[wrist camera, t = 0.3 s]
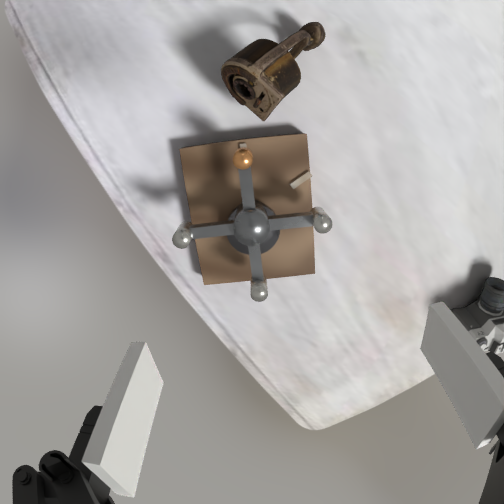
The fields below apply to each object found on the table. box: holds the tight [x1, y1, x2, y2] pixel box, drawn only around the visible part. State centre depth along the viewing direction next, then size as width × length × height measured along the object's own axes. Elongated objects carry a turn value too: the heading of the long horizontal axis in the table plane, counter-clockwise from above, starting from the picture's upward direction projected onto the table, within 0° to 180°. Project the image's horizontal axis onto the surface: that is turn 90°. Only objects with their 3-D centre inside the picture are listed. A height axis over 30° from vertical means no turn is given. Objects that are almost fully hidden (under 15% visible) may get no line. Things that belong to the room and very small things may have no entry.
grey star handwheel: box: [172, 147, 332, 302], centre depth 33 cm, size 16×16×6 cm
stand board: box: [179, 133, 315, 285], centre depth 37 cm, size 17×14×2 cm
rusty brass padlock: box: [221, 22, 325, 121], centre depth 26 cm, size 7×13×10 cm, turn 152°
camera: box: [451, 277, 504, 354], centre depth 39 cm, size 16×10×10 cm, turn 91°
